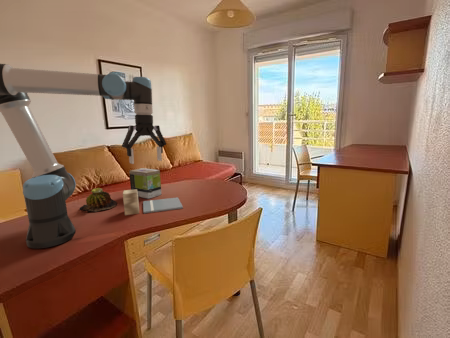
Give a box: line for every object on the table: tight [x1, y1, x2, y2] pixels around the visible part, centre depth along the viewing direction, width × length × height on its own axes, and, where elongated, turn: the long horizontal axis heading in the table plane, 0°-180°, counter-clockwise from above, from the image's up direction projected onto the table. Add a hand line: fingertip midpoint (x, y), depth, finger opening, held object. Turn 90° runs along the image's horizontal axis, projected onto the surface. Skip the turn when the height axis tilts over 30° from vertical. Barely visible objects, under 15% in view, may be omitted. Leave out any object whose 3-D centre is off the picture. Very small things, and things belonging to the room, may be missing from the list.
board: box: [142, 197, 184, 214], centre depth 121 cm, size 18×16×1 cm
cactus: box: [79, 187, 118, 213], centre depth 120 cm, size 17×16×10 cm
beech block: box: [122, 189, 140, 216], centre depth 112 cm, size 6×6×10 cm
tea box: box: [128, 167, 162, 200], centre depth 138 cm, size 15×10×15 cm, turn 58°
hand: (146, 162), depth 111 cm, fingers open, 13 cm apart
